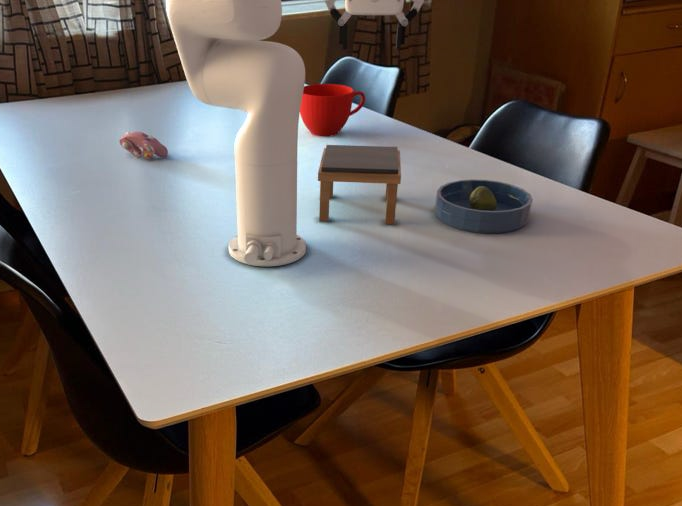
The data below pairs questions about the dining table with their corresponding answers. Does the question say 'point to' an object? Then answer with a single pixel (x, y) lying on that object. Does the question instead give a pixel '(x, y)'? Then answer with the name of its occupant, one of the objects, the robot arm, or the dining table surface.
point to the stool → (359, 172)
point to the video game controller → (143, 145)
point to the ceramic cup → (327, 108)
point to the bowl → (460, 215)
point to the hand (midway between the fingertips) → (371, 48)
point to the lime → (482, 199)
